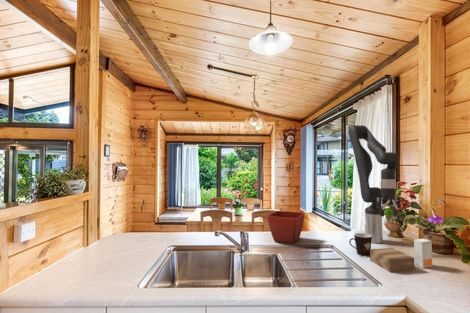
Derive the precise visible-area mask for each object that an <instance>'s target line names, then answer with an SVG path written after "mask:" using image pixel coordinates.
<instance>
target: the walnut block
mask: <svg viewBox="0 0 470 313" xmlns="http://www.w3.org/2000/svg"><path fill="white" fill-rule="evenodd" d="M369 257H370V262H372V263H374V264H375V265H377V266H379V267H380V268H381V269H384V270H385V271H387V272H389V273H397V272H398V273H399V272H400V273H401V272H413V270H415V271H416V269H415V268H416V265H415V260H414V256H411V255H410V254H407V253H405V252H403V251H400V250H399V249H396V248H393V247H384V248H371V249H370V256H369Z"/></svg>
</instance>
